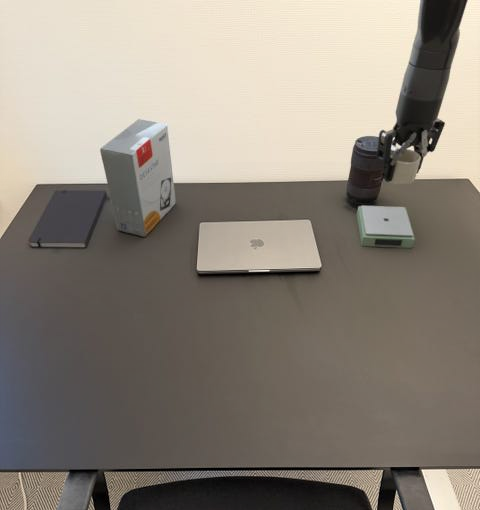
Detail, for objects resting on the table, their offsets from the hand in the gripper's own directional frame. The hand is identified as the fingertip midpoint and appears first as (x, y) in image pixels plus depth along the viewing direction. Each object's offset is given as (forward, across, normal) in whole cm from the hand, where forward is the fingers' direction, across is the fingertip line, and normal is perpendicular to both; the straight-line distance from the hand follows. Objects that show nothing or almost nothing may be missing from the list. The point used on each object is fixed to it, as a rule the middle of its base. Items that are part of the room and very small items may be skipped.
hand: (399, 175), depth 95 cm
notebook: (+15, -63, +38) cm, 75 cm away
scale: (+15, +1, +1) cm, 15 cm away
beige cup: (+1, 0, 0) cm, 1 cm away
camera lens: (+15, +3, +14) cm, 20 cm away
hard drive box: (+15, -46, +31) cm, 57 cm away
